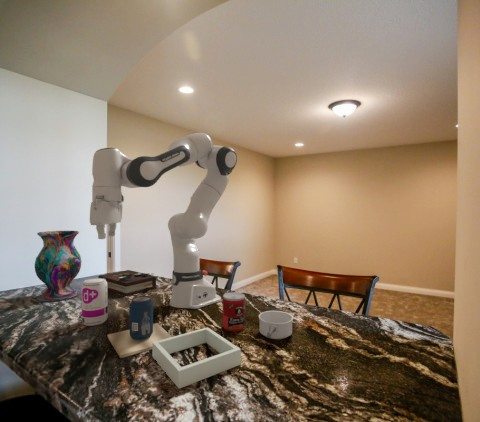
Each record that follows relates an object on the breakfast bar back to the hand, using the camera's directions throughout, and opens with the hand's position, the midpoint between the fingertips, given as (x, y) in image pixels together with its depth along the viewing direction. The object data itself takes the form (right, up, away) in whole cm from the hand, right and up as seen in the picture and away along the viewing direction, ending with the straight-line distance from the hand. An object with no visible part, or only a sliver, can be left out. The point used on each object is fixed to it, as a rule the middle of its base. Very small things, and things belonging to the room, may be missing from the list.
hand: (107, 237), depth 96 cm
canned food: (+43, -32, +3) cm, 53 cm away
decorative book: (-13, -31, +51) cm, 62 cm away
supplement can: (-8, -31, +7) cm, 33 cm away
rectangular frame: (+33, -31, -19) cm, 49 cm away
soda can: (+14, -31, -7) cm, 34 cm away
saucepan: (+55, -32, -6) cm, 64 cm away
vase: (-39, -31, +37) cm, 62 cm away
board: (+14, -31, -7) cm, 35 cm away
